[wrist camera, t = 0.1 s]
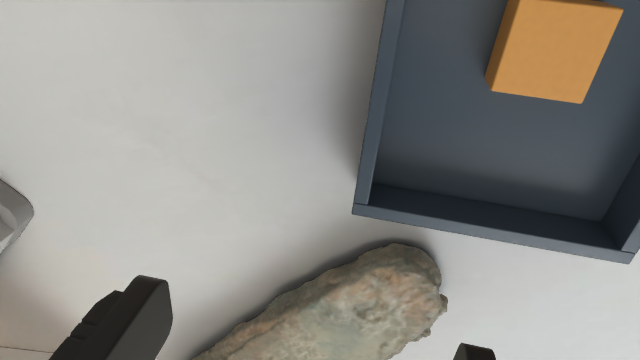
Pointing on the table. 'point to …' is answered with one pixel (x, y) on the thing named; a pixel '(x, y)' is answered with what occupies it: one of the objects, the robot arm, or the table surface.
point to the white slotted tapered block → (23, 354)
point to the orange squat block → (551, 47)
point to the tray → (500, 138)
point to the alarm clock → (12, 214)
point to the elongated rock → (345, 312)
